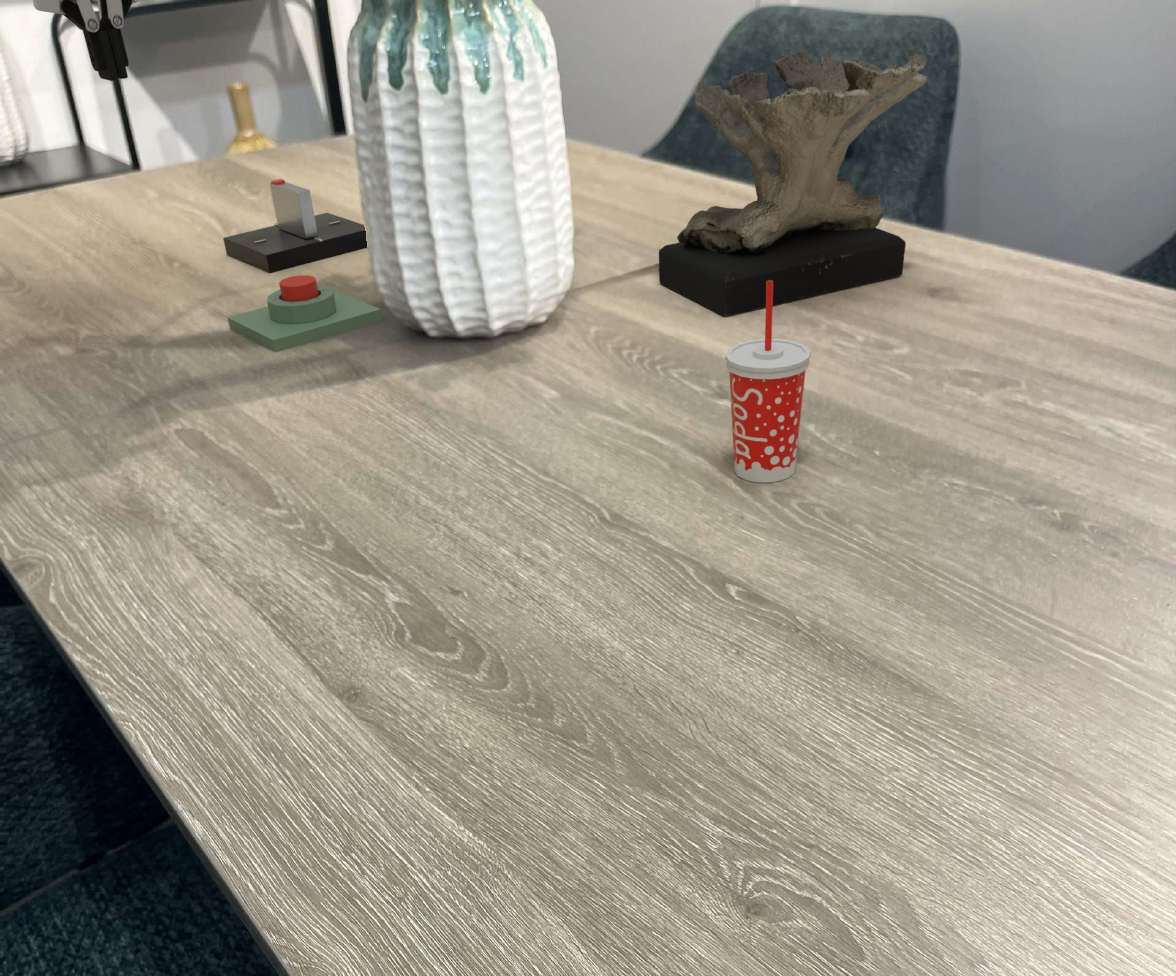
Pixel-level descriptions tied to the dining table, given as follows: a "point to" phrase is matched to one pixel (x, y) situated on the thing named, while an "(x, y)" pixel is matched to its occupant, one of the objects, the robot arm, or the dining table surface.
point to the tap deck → (296, 244)
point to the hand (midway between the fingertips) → (113, 77)
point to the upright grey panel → (293, 209)
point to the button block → (303, 319)
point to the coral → (791, 188)
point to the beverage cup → (766, 402)
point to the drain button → (298, 288)
